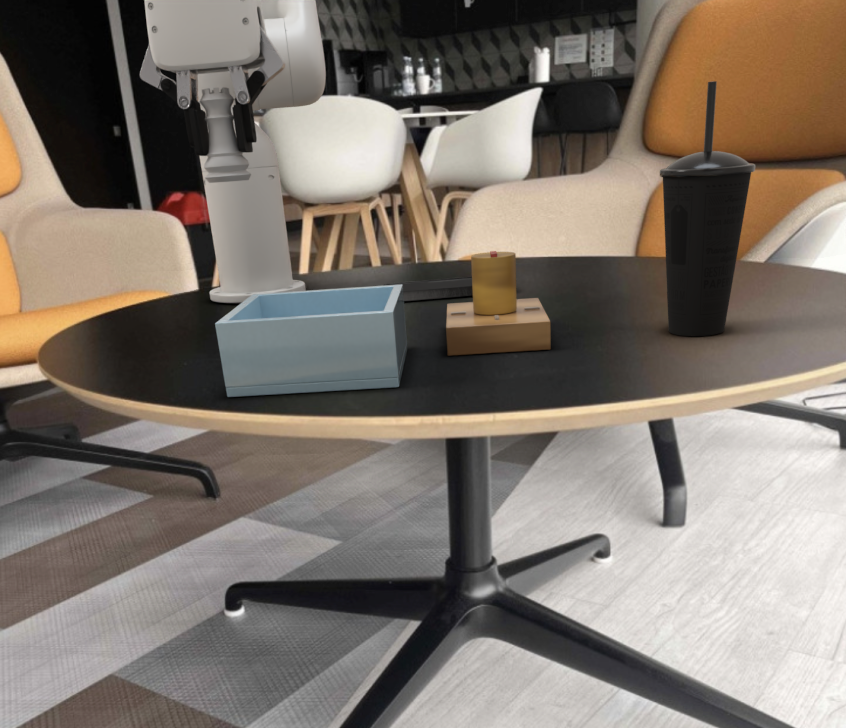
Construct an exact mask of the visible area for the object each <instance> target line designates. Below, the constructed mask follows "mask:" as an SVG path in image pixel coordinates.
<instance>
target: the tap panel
mask: <svg viewBox="0 0 846 728" xmlns="http://www.w3.org/2000/svg"><path fill="white" fill-rule="evenodd" d="M551 329H552V328H551V319H550V318H549V316H548V314H547V312H546V310H545V308H544V306H543V304H542V303H541V300H540V299H539V297H531V298H530V297H528V298H517V310H516V311H514V312H512V313H507V314H500V315H480V314H476V313H474V312H473V301H468V302H454V303H453V302H452V303H447V304H446V321H445V333H446V334H445V335H446V350H447V351H446V352H447V356H448V357H449V356H450V357H453V356H466V355H467V356H468V355H483V354H484V355H485V354H501V353H502V354H503V353H514V352H515V353H517V352H533V351H534V352H535V351H536V352H537V351H549V350H551V349H552V347H551V341H552V340H551V339H552V337H551V336H552V334H551V332H552V331H551Z"/></svg>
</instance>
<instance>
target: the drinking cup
mask: <svg viewBox="0 0 846 728" xmlns="http://www.w3.org/2000/svg"><path fill="white" fill-rule="evenodd" d="M717 83H718V82H717V81H715V80H714V81H708V82H707V90H706V91H707V92H706V93H707V94H706V105H705V123H704V124H705V126H704V138H703V139H704V140H703V151H699V152H694V153H691V154H689V155H685V156H683V157H680V158H678V159H676V160H675V161H673V162H672V163H670V164H669V165H668V166H667V167H664V168H661V169H659V177H660V178H662V196H663V216H664V217H663V218H664V219H663V221H664V223H663V224H664V245H665V273H666V276H665V277H666V300H667V322H668V323H667V326H668V327H667V328H668V332H669V333H670V334H672V335H675V336H683V337H708V336H714V335H719V334H723V332H725V328H726V322H727V316H728V310H729V304H730V299H731V293H732V287H733V282H734V276H735V270H736V263H737V258H738V253H739V246H740V240H741V234H742V230H743V229H742V228H743V224H744V217H745V211H746V207H747V206H746V205H747V201H748V200H747V199H748V194H749V188H750V183H751V176H752V173H754V172H755V171H756V163H750V162H748V161H747V160H746V159H744V158H742V157H741V156H739V155H737V154H734V153H730V152H725V151H720V150H713V146H714V145H713V144H714V128H715V116H716V115H715V114H716V99H717V98H716V97H717Z"/></svg>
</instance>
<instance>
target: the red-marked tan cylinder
mask: <svg viewBox="0 0 846 728" xmlns="http://www.w3.org/2000/svg"><path fill="white" fill-rule="evenodd" d="M516 259H517V255H516V253H515V252H513V251H497V250H491V251H489V252H488V251H487V252H480V253H475V254H472V255H471V256H470V263H471V265H470V266H471V277H472V290H473V295H472V302H473V312H474V313H476V314H480V315H500V314H507V313H512V312H514V311H516V310H517V299H518V298H517V297H518V295H517V260H516Z"/></svg>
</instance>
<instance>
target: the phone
mask: <svg viewBox="0 0 846 728" xmlns="http://www.w3.org/2000/svg"><path fill="white" fill-rule="evenodd" d="M401 284H402V285H403V294H404V302H411V301H421V300H422V301H423V300H433V299H434V300H435V299H446V298H447V299H448V298H461V297H471V296H472V297H473V290H472V276H462V277H449V278H437V279H436V278H435V279H425V280H413V281H399V282H389V283H384V284H383V285H382V286H386V285H401Z"/></svg>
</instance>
